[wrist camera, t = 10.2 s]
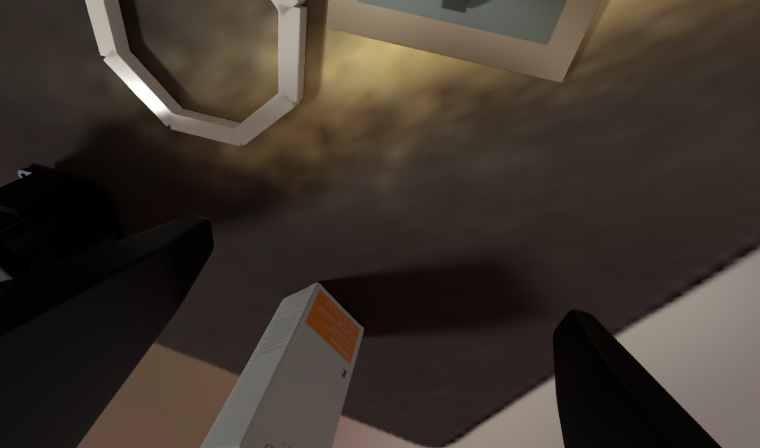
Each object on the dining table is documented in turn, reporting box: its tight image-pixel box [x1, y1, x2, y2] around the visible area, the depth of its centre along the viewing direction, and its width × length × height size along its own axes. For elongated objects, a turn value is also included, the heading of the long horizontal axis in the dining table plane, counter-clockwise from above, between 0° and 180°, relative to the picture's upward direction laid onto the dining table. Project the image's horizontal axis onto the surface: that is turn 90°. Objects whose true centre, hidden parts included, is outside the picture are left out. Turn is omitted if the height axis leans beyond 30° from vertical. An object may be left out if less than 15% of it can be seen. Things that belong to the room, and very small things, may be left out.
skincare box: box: [200, 282, 364, 448], centre depth 24 cm, size 6×4×12 cm
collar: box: [85, 0, 307, 146], centre depth 17 cm, size 11×11×1 cm
